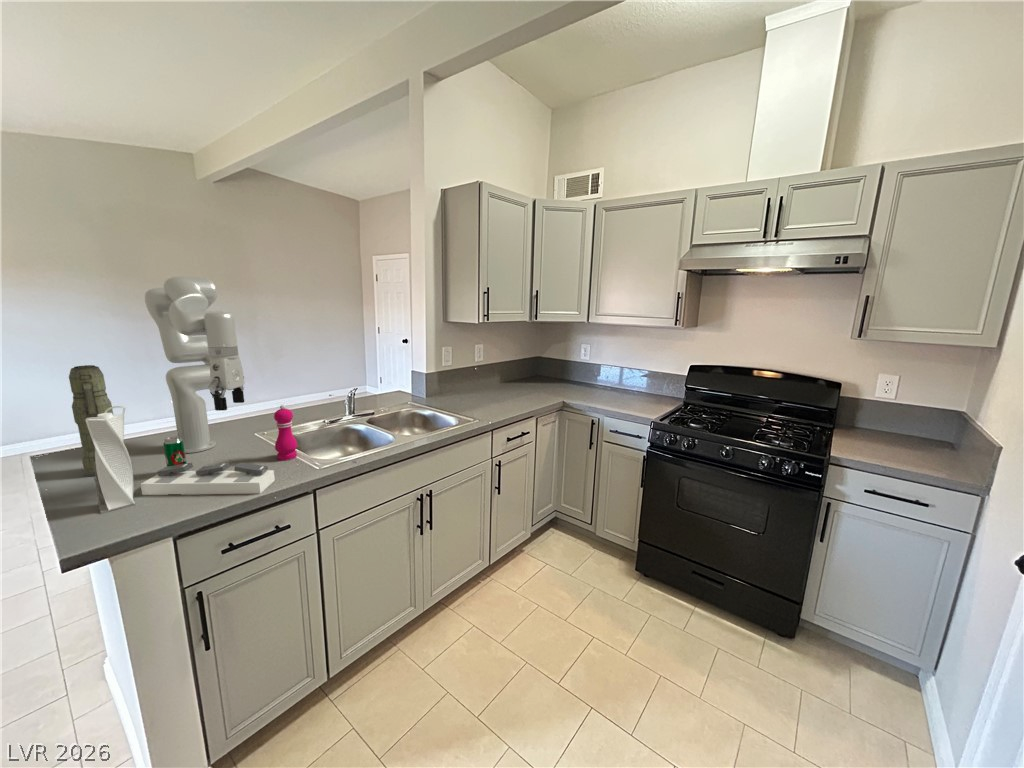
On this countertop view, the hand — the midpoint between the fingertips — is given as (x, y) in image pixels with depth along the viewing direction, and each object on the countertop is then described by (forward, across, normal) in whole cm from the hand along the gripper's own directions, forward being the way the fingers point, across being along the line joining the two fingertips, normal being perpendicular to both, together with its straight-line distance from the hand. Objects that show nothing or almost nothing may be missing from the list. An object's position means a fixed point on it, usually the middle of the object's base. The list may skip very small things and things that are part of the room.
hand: (230, 406), depth 129 cm
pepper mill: (+24, +16, -8) cm, 30 cm away
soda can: (+24, +4, +21) cm, 32 cm away
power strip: (+24, -8, +4) cm, 25 cm away
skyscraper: (+24, -17, +22) cm, 37 cm away
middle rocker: (+19, -6, +4) cm, 20 cm away
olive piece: (+23, +6, +45) cm, 51 cm away
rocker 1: (+19, -6, +15) cm, 25 cm away
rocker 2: (+19, -6, -7) cm, 22 cm away
